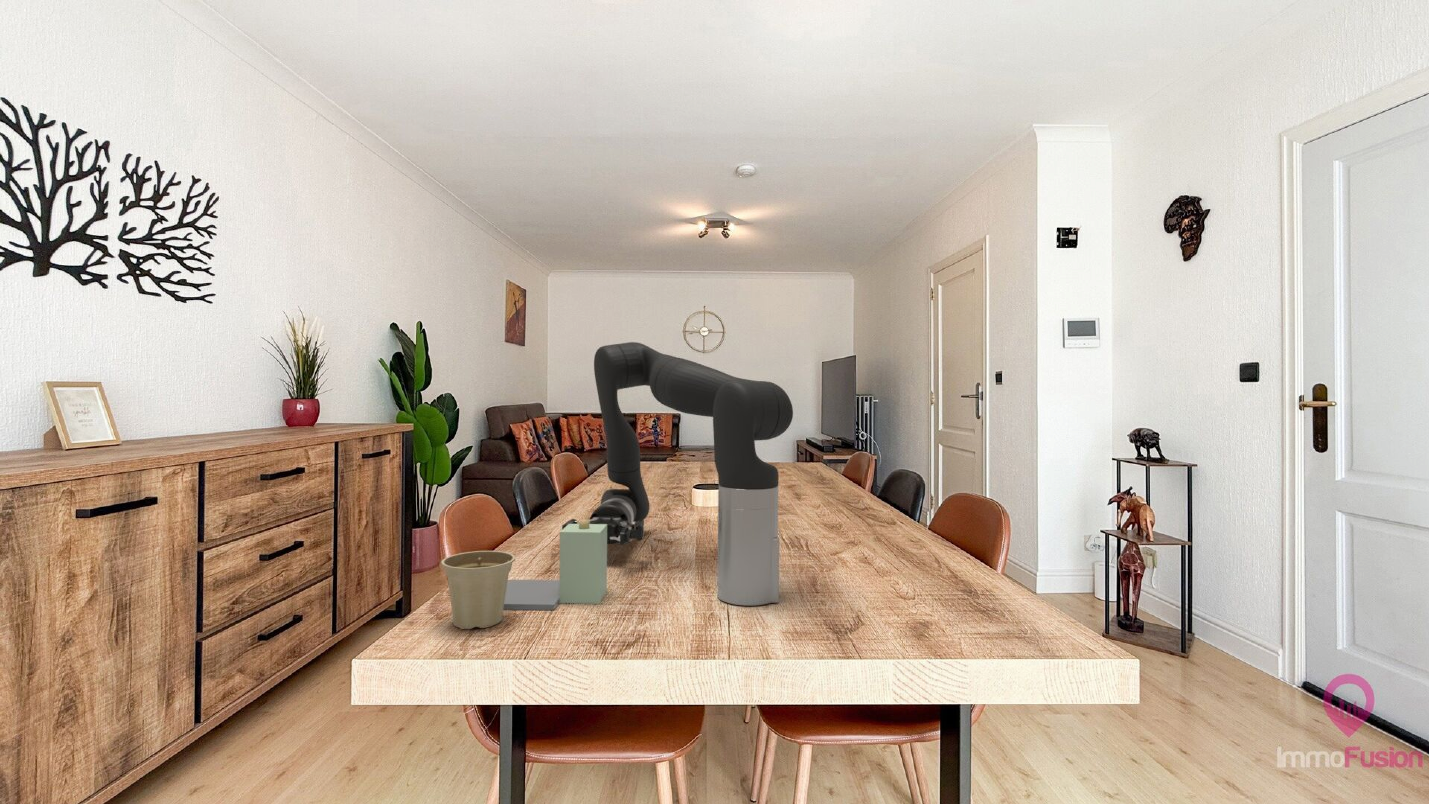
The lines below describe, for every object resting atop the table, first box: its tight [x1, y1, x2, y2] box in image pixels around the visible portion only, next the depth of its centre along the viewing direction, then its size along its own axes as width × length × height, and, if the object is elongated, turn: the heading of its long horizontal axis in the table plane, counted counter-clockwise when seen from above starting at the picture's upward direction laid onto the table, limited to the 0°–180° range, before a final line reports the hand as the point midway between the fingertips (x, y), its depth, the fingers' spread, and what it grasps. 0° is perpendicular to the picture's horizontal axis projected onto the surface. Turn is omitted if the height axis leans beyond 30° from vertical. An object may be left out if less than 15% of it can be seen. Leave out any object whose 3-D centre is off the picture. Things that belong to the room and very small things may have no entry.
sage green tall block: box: [558, 518, 608, 605], centre depth 99 cm, size 6×6×12 cm
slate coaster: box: [503, 579, 560, 611], centre depth 99 cm, size 12×12×1 cm
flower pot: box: [440, 550, 516, 630], centre depth 88 cm, size 9×9×9 cm
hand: (597, 538), depth 110 cm, fingers open, 8 cm apart
